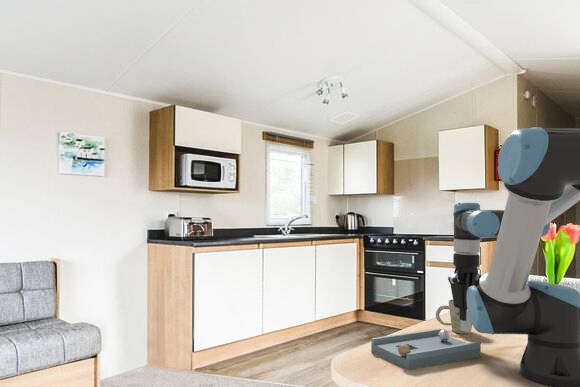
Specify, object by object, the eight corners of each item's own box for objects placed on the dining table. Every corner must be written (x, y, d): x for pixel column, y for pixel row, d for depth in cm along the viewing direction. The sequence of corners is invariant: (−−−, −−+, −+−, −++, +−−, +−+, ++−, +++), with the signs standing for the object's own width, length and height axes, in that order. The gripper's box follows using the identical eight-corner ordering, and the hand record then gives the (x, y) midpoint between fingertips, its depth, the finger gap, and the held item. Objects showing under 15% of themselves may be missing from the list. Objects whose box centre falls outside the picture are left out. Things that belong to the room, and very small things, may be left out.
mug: (476, 335, 155) (476, 305, 155) (436, 333, 157) (437, 302, 157) (472, 329, 163) (472, 300, 163) (434, 326, 165) (434, 298, 166)
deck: (480, 356, 133) (480, 342, 133) (408, 370, 122) (409, 354, 122) (439, 341, 148) (439, 328, 148) (371, 352, 136) (371, 338, 136)
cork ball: (413, 357, 124) (413, 345, 124) (403, 359, 123) (403, 346, 123) (404, 353, 127) (405, 341, 127) (395, 355, 125) (395, 343, 125)
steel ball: (451, 342, 138) (452, 331, 138) (443, 343, 137) (443, 332, 137) (443, 339, 141) (443, 328, 141) (435, 340, 140) (435, 329, 140)
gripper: (472, 250, 150) (471, 325, 150) (441, 252, 144) (440, 330, 144) (491, 253, 143) (490, 331, 143) (460, 255, 137) (459, 336, 137)
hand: (465, 330), depth 143 cm, fingers closed
